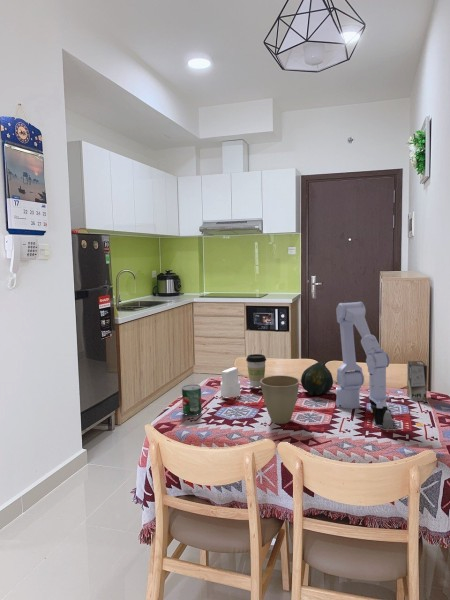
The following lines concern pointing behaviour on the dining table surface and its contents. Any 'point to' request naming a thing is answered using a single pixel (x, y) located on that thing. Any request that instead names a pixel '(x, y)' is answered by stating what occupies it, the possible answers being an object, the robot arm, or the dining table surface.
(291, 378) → the plant pot
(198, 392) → the canned tomato
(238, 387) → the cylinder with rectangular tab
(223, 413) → the dining table surface
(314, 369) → the squash
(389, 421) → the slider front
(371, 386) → the robot arm
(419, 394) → the coffee box
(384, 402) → the slider back
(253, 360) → the coffee cup
